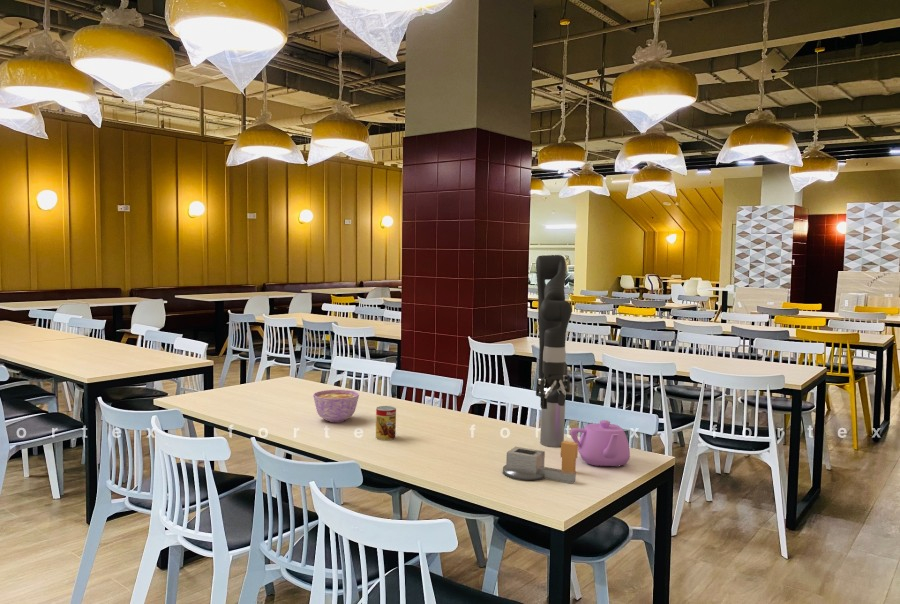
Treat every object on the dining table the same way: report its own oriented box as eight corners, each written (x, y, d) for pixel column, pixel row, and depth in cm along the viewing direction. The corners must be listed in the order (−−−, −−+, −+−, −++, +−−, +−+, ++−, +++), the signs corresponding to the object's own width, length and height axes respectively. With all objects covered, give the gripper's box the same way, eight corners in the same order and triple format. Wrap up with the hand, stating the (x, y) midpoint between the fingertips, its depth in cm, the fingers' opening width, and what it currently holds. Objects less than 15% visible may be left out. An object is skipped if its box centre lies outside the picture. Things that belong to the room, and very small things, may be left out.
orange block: (562, 469, 223) (563, 440, 222) (576, 471, 220) (577, 443, 220) (560, 471, 220) (561, 442, 219) (574, 474, 218) (575, 445, 217)
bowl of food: (367, 418, 287) (368, 393, 287) (340, 428, 270) (340, 400, 269) (332, 412, 297) (332, 388, 296) (303, 421, 279) (303, 395, 278)
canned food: (392, 441, 252) (392, 410, 252) (373, 439, 254) (373, 409, 253) (397, 435, 260) (398, 406, 259) (379, 434, 262) (379, 405, 261)
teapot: (564, 454, 240) (565, 415, 239) (619, 455, 241) (621, 415, 240) (578, 474, 217) (580, 430, 216) (640, 475, 218) (642, 431, 217)
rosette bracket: (512, 464, 227) (513, 443, 226) (580, 476, 216) (581, 454, 215) (495, 475, 214) (496, 453, 213) (567, 489, 202) (568, 466, 202)
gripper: (559, 356, 223) (558, 402, 225) (531, 359, 215) (529, 407, 216) (576, 359, 218) (575, 406, 219) (548, 363, 209) (546, 412, 210)
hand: (552, 407), depth 217 cm, fingers open, 8 cm apart
